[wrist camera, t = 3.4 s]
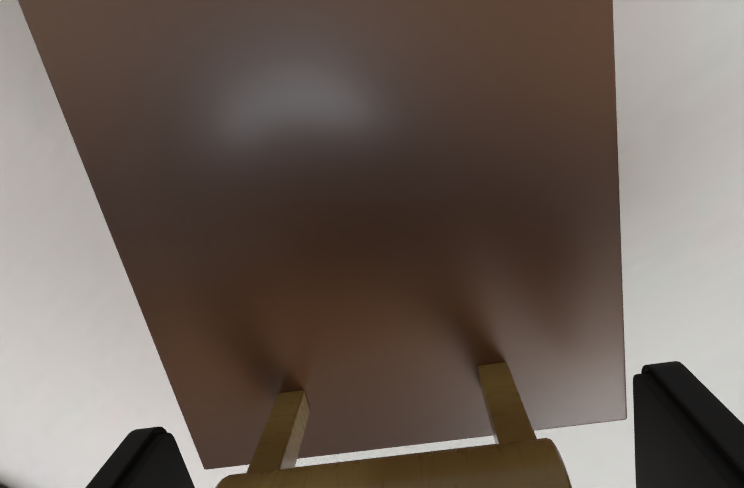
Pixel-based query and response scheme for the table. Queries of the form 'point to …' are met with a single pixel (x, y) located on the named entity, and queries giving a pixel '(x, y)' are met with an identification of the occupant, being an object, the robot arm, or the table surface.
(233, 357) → the lid
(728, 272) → the table surface
